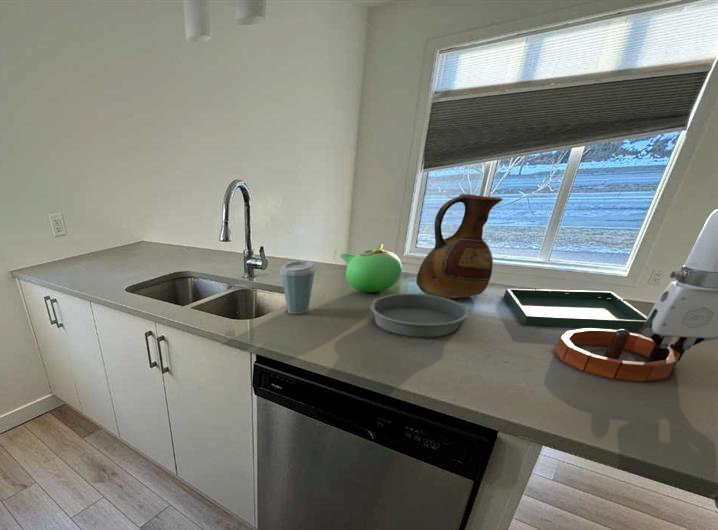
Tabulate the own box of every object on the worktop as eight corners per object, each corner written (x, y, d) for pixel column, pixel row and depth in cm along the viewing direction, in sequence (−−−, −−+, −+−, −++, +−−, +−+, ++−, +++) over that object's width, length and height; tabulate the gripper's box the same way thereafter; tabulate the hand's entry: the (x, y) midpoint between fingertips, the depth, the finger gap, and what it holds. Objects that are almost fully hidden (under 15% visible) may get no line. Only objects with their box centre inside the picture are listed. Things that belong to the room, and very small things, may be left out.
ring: (643, 345, 93) (651, 331, 91) (691, 385, 78) (701, 369, 76) (546, 339, 99) (551, 326, 97) (573, 375, 84) (579, 360, 83)
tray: (608, 300, 117) (612, 291, 115) (649, 332, 98) (654, 322, 97) (503, 296, 126) (506, 288, 124) (523, 325, 107) (526, 316, 106)
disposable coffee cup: (298, 319, 124) (300, 270, 116) (272, 311, 131) (272, 265, 124) (320, 309, 129) (323, 262, 122) (294, 302, 137) (295, 257, 129)
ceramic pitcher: (496, 304, 121) (527, 195, 106) (424, 305, 125) (444, 200, 110) (470, 284, 138) (494, 188, 123) (407, 286, 141) (423, 193, 126)
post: (623, 354, 90) (638, 324, 87) (639, 369, 84) (655, 337, 81) (583, 351, 93) (595, 322, 89) (595, 365, 87) (609, 335, 83)
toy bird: (359, 301, 133) (364, 256, 125) (334, 287, 147) (338, 246, 140) (408, 293, 135) (416, 248, 128) (379, 280, 150) (385, 239, 142)
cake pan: (419, 348, 101) (422, 331, 98) (350, 319, 120) (352, 304, 118) (486, 326, 109) (490, 310, 106) (411, 302, 128) (414, 288, 126)
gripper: (664, 282, 76) (621, 368, 85) (781, 284, 71) (723, 375, 80) (644, 271, 82) (606, 352, 91) (751, 272, 77) (700, 359, 86)
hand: (661, 363), depth 85 cm, fingers closed on ring, 1 cm apart
